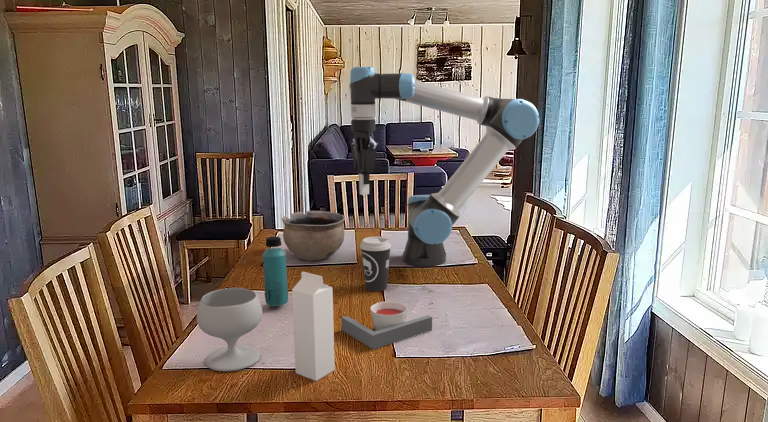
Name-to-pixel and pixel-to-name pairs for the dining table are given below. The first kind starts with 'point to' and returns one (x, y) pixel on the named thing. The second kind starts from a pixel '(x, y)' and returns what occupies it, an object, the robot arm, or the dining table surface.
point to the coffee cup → (376, 262)
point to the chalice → (230, 326)
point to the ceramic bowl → (313, 234)
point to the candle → (388, 314)
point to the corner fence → (385, 331)
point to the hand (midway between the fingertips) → (364, 193)
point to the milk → (313, 327)
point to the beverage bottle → (275, 273)
